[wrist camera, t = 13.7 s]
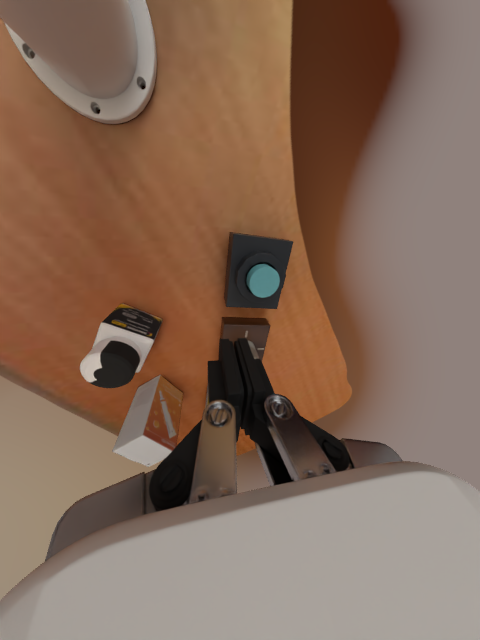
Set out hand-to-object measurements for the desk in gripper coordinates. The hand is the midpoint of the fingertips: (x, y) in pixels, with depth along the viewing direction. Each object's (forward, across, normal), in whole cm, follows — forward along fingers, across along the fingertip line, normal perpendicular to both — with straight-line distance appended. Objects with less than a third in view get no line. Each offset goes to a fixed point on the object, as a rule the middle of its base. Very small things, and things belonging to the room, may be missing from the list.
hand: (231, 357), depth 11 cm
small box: (+22, +11, +28) cm, 37 cm away
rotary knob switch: (+22, -6, +15) cm, 27 cm away
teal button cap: (+16, -7, 0) cm, 18 cm away
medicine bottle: (+22, +14, +11) cm, 28 cm away
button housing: (+22, -7, 0) cm, 23 cm away
